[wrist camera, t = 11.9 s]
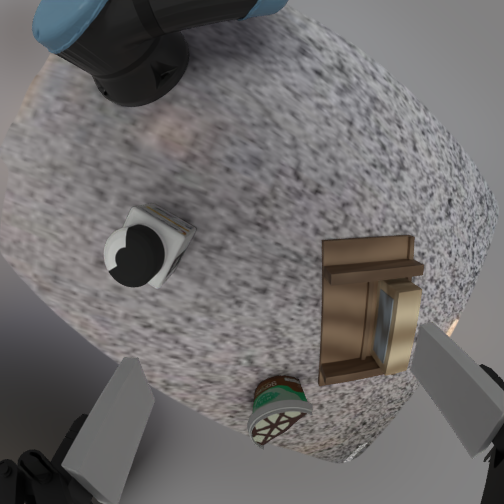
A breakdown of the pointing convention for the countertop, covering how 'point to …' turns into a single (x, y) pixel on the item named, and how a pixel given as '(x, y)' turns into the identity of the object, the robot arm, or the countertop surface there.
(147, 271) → the container
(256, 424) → the food container
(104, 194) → the countertop surface
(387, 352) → the tan rectangular block
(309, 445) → the countertop surface
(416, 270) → the wooden slatted panel
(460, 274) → the countertop surface
